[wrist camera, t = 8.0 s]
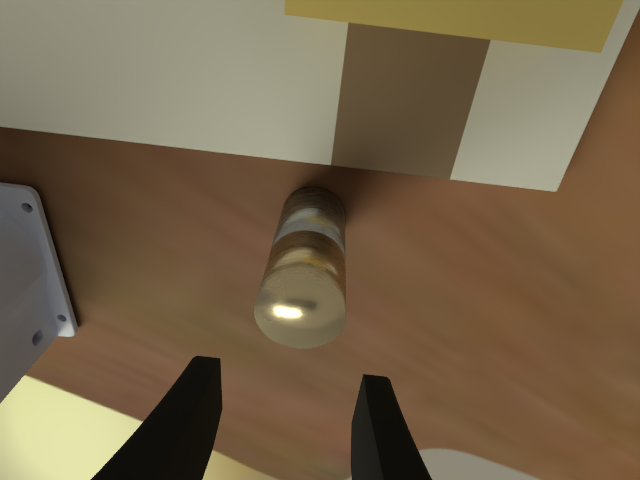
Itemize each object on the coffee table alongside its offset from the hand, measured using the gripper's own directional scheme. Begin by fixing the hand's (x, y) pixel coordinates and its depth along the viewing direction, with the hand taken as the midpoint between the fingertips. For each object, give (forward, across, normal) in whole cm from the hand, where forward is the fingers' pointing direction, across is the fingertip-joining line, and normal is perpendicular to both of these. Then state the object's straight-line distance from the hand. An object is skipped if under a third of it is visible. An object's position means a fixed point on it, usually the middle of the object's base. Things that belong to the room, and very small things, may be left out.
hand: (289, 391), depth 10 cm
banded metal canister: (+10, 0, 0) cm, 10 cm away
